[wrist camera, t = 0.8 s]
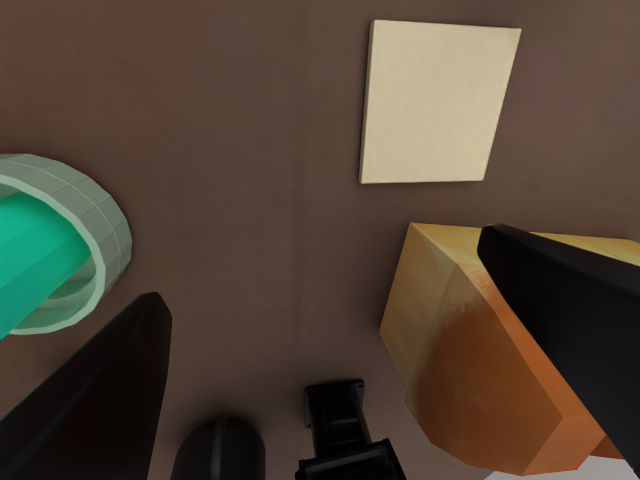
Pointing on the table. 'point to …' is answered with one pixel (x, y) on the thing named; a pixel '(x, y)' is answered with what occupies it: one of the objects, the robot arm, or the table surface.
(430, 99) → the coaster
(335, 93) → the table surface
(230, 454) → the mug
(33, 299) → the candle
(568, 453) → the bread
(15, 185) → the bowl
